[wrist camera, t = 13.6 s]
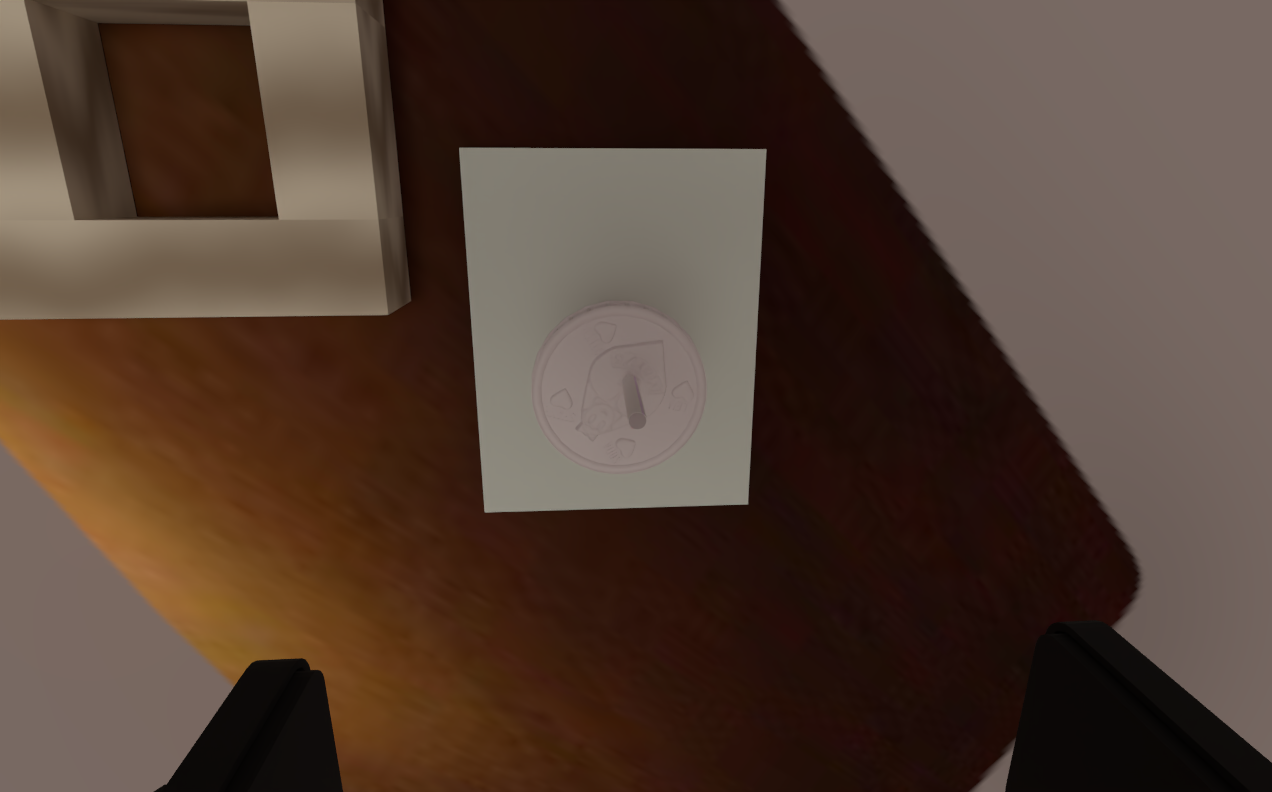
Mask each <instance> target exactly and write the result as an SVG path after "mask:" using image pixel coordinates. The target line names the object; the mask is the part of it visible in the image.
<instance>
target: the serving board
mask: <svg viewBox="0 0 1272 792" xmlns="http://www.w3.org/2000/svg"><path fill="white" fill-rule="evenodd" d="M459 154H460V169H461V183H462V197H463V211H464V225H465V240H466V254H467V268H468V282H469V296H470V311H471V325H472V339H473V353H474V367H475V382H476V396H477V410H478V424H479V439H480V453H481V467H482V481H483V495H484V510H485V512H515V511H547V510H579V509H612V508H644V507H676V506H709V505H741V504H748V493H749V474H750V455H751V436H752V416H753V397H754V378H755V359H756V340H757V321H758V301H759V282H760V263H761V244H762V225H763V205H764V186H765V167H766V149H625V148H459ZM605 301H634V302H638V303H641V304H644V305H648V306H651V307H655V308H656V309H658V310H660V311H661V312H663V313H665V314H666V315H668V316H670V317H671V318H673V319H674V320H675V321H676V322H677V323H678V324H679V325H680V326H681V327H682V328H683V329H684V330H685V331H686V332H687V333H688V334H689V335H690V337H691V339H692V341H693V343H694V345H695V346H696V348H697V350H698V352H699V354H700V357H701V360H702V363H703V366H704V370H705V374H706V382H707V395H706V403H705V408H704V411H703V415H702V418H701V420H700V423H699V425H698V427H697V428H696V430H695V432H694V433H693V435H692V437H691V438H690V439H689V440H688V442H687V443H686V444H685V445H684V446H683V447H682V448H681V449H680V450H679V451H678V452H677V453H676V454H675V455H673V456H672V457H670V458H669V459H668V460H666V461H664V462H662V463H661V464H659V465H657V466H654V467H652V468H649V469H647V470H643V471H639V472H635V473H628V474H609V473H602V472H597V471H593V470H590V469H587V468H584V467H582V466H580V465H578V464H576V463H574V462H572V461H571V460H569V459H568V458H566V457H565V456H563V455H562V454H561V453H560V452H559V451H558V450H557V449H556V448H554V447H553V445H552V444H551V443H550V442H549V441H548V439H547V438H546V436H545V435H544V433H543V432H542V430H541V428H540V426H539V424H538V422H537V419H536V416H535V413H534V409H533V404H532V396H531V386H532V371H533V368H534V364H535V360H536V356H537V353H538V351H539V350H540V348H541V346H542V344H543V343H544V341H545V339H546V338H547V336H548V334H549V333H550V332H551V331H552V330H553V329H554V328H555V327H556V326H557V325H558V324H559V323H560V322H561V321H562V320H563V319H564V318H566V317H567V316H569V315H571V314H573V313H575V312H576V311H578V310H580V309H582V308H584V307H585V306H589V305H593V304H597V303H601V302H605Z"/></svg>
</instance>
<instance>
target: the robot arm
mask: <svg viewBox="0 0 1272 792" xmlns="http://www.w3.org/2000/svg"><path fill="white" fill-rule="evenodd" d="M154 792H343V789H342V783H341V777H340V771H339V765H338V759H337V753H336V747H335V741H334V735H333V729H332V723H331V717H330V711H329V704H328V698H327V692H326V686H325V680H324V676H323V674H322V672H321V671H319V670H310V667H309V664H308V663H307V661H306V660H305V659H302V658H301V659H280V660H259V661H255V662H253V663H251V664H250V666H249V667H248V668H247V669H246V670H245V672H244V673H243V675H242V676H241V678H240V679H239V680H238V682H237V683H236V685H235V686H234V688H233V689H232V691H231V692H230V694H229V695H228V697H227V698H226V699H225V701H224V702H223V704H222V705H221V707H220V708H219V709H218V711H217V712H216V714H215V715H214V717H213V718H212V720H211V721H210V723H209V724H208V726H207V727H206V728H205V730H204V731H203V733H202V734H201V736H200V737H199V739H198V740H197V741H196V743H195V744H194V746H193V747H192V749H191V750H190V752H189V753H188V754H187V756H186V757H185V759H184V760H183V762H182V763H181V765H180V766H179V767H178V769H177V770H176V772H175V773H174V775H173V776H172V778H171V779H170V780H169V782H168V783H167V785H163V786H162V787H160V788H159V789H157V790H156V791H154ZM1005 792H1272V763H1271V762H1270V761H1269V760H1268V759H1267V758H1265V757H1264V756H1263V755H1262V754H1261V753H1259V752H1258V751H1257V750H1256V749H1255V748H1253V747H1252V746H1251V745H1250V744H1249V743H1247V742H1246V741H1245V740H1244V739H1243V738H1242V737H1240V736H1239V735H1238V734H1237V733H1236V732H1235V731H1233V730H1232V729H1231V728H1230V727H1229V726H1227V725H1226V724H1225V723H1224V722H1223V721H1221V720H1220V719H1219V718H1218V717H1217V716H1215V715H1214V714H1213V713H1212V712H1211V711H1210V710H1208V709H1207V708H1206V707H1204V705H1202V704H1201V703H1200V702H1199V701H1198V700H1197V699H1195V698H1194V697H1193V696H1192V695H1191V694H1189V693H1188V692H1187V691H1186V690H1185V689H1184V688H1182V687H1181V686H1180V685H1179V684H1178V683H1176V682H1175V681H1174V680H1173V679H1171V678H1170V677H1169V676H1168V675H1167V674H1166V673H1165V672H1163V671H1162V670H1161V669H1159V668H1158V667H1157V666H1156V665H1155V664H1154V663H1153V662H1151V661H1150V660H1149V659H1148V658H1147V657H1146V656H1144V655H1143V654H1142V653H1141V652H1140V651H1138V650H1137V649H1136V648H1135V647H1134V646H1132V645H1131V644H1130V643H1129V642H1128V641H1126V640H1125V639H1124V638H1123V637H1122V636H1121V635H1119V634H1118V633H1117V632H1116V631H1115V630H1113V629H1112V628H1111V627H1110V626H1108V625H1107V624H1105V623H1103V622H1100V621H1096V620H1094V621H1073V622H1057V623H1053V624H1051V625H1050V626H1049V628H1048V629H1047V631H1046V634H1045V635H1041V636H1040V637H1039V638H1038V640H1037V643H1036V647H1035V651H1034V656H1033V661H1032V665H1031V670H1030V675H1029V680H1028V684H1027V689H1026V694H1025V698H1024V703H1023V708H1022V713H1021V717H1020V722H1019V727H1018V731H1017V736H1016V741H1015V746H1014V750H1013V755H1012V760H1011V765H1010V769H1009V774H1008V779H1007V784H1006V791H1005Z"/></svg>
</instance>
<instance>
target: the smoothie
mask: <svg viewBox="0 0 1272 792" xmlns="http://www.w3.org/2000/svg"><path fill="white" fill-rule="evenodd" d="M706 395H707V382H706V374H705V370H704V366H703V363H702V360H701V357H700V354H699V352H698V350H697V348H696V346H695V345H694V343H693V341H692V339H691V337H690V335H689V334H688V333H687V332H686V331H685V330H684V329H683V328H682V327H681V326H680V325H679V324H678V323H677V322H676V321H675V320H674V319H673V318H671V317H670V316H668V315H666V314H665V313H663V312H661V311H660V310H658V309H656V308H655V307H651V306H648V305H644V304H641V303H638V302H634V301H605V302H601V303H597V304H593V305H589V306H585V307H584V308H582V309H580V310H578V311H576V312H575V313H573V314H571V315H569V316H567V317H566V318H564V319H563V320H562V321H561V322H560V323H559V324H558V325H557V326H556V327H555V328H554V329H553V330H552V331H551V332H550V333H549V334H548V336H547V338H546V339H545V341H544V343H543V344H542V346H541V348H540V350H539V351H538V353H537V356H536V360H535V364H534V368H533V371H532V386H531V396H532V404H533V409H534V413H535V416H536V419H537V422H538V424H539V426H540V428H541V430H542V432H543V433H544V435H545V436H546V438H547V439H548V441H549V442H550V443H551V444H552V445H553V447H554V448H556V449H557V450H558V451H559V452H560V453H561V454H562V455H563V456H565V457H566V458H568V459H569V460H571V461H572V462H574V463H576V464H578V465H580V466H582V467H584V468H587V469H590V470H593V471H597V472H602V473H609V474H628V473H635V472H639V471H643V470H647V469H649V468H652V467H654V466H657V465H659V464H661V463H662V462H664V461H666V460H668V459H669V458H670V457H672V456H673V455H675V454H676V453H677V452H678V451H679V450H680V449H681V448H682V447H683V446H684V445H685V444H686V443H687V442H688V440H689V439H690V438H691V437H692V435H693V433H694V432H695V430H696V428H697V427H698V425H699V423H700V420H701V418H702V415H703V411H704V408H705V403H706Z"/></svg>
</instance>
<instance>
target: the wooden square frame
mask: <svg viewBox="0 0 1272 792" xmlns="http://www.w3.org/2000/svg"><path fill="white" fill-rule="evenodd" d="M98 23H127V24H189V25H250V26H251V33H252V39H253V46H254V53H255V60H256V67H257V74H258V80H259V87H260V94H261V101H262V108H263V115H264V121H265V128H266V135H267V142H268V149H269V156H270V162H271V169H272V176H273V183H274V190H275V197H276V203H277V210H278V217H137V214H136V209H135V204H134V199H133V194H132V189H131V184H130V179H129V174H128V170H127V165H126V160H125V155H124V150H123V145H122V140H121V135H120V130H119V126H118V121H117V116H116V111H115V106H114V101H113V96H112V91H111V86H110V81H109V77H108V72H107V67H106V62H105V57H104V52H103V47H102V42H101V37H100V33H99V28H98ZM410 301H411V294H410V283H409V273H408V262H407V252H406V241H405V231H404V220H403V210H402V199H401V189H400V178H399V168H398V157H397V147H396V136H395V126H394V115H393V105H392V94H391V84H390V73H389V63H388V52H387V42H386V31H385V21H384V10H383V0H0V319H82V318H168V317H254V316H340V315H389V314H391V313H392V312H394V311H396V310H397V309H399V308H400V307H402V306H404V305H405V304H407V303H409V302H410Z"/></svg>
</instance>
